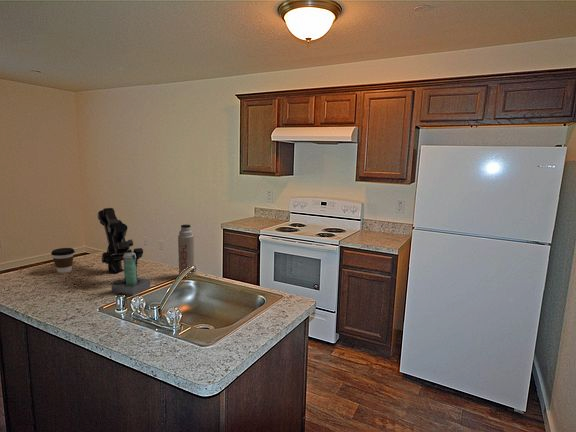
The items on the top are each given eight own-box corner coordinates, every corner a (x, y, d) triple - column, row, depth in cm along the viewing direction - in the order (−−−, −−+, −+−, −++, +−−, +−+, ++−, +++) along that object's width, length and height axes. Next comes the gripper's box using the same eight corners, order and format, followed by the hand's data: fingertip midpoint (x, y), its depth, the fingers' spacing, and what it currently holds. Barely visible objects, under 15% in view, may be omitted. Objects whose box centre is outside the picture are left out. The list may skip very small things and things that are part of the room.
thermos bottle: (188, 279, 191) (187, 227, 187) (175, 277, 194) (174, 225, 190) (197, 274, 199) (196, 224, 194) (185, 272, 202) (184, 223, 197)
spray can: (139, 287, 178) (137, 247, 174) (134, 291, 172) (132, 250, 169) (127, 287, 178) (125, 247, 174) (123, 291, 172) (121, 250, 169)
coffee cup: (49, 271, 198) (47, 250, 196) (70, 267, 206) (69, 246, 204) (57, 276, 191) (55, 253, 189) (79, 271, 200) (78, 249, 198)
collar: (130, 284, 182) (129, 276, 182) (150, 287, 179) (149, 279, 178) (111, 292, 171) (111, 284, 170) (132, 296, 167) (132, 287, 167)
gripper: (101, 236, 175) (107, 264, 168) (141, 232, 186) (148, 258, 180) (99, 248, 183) (104, 276, 176) (137, 244, 194) (144, 269, 187)
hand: (126, 269), depth 180 cm, fingers open, 9 cm apart
